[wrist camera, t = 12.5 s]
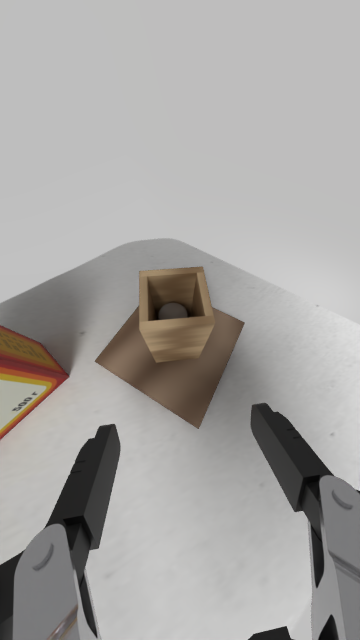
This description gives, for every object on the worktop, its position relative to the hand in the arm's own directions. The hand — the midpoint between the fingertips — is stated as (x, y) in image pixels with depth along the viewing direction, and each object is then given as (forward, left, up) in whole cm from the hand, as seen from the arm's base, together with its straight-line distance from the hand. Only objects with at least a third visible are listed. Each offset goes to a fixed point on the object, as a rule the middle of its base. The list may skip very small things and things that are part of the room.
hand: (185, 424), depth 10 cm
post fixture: (-5, +7, -10) cm, 13 cm away
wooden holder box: (-5, +7, -9) cm, 12 cm away
